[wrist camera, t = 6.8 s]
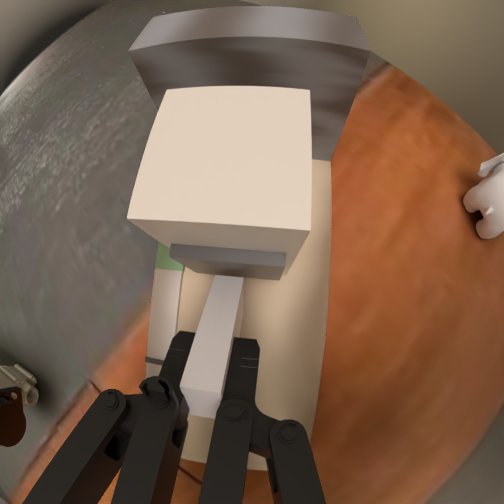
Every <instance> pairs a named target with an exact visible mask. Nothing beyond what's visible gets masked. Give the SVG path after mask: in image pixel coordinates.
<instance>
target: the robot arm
mask: <svg viewBox="0 0 504 504" xmlns="http://www.w3.org/2000/svg"><path fill="white" fill-rule="evenodd" d="M243 298H244V277H233V276H222V275H215V277H214V280H213V283H212V286H211V289H210V292H209V295H208V298H207V301H206V304H205V307H204V310H203V313H202V316H201V319H200V322H199V325H198V328H197V331H196V333H194V332H187V331H181V330H180V331H179V332H178V333H177V334H176V335H175V336H174V337H173V338H172V341H171V344H170V346H169V349H168V351H167V354H166V357H165V359H164V362H163V365H162V368H161V370H160V373H159V376H152V377H148V378H146V379H145V380H144V381H142V383H141V384H140V386H139V388H140V389H141V391H142V392H143V394H133V395H124V394H122V393H121V392H120V391H119V390H116V389H108V390H105V391H103V392H102V393H101V394H100V395H99V396H98V397H97V399H96V400H95V401H94V403H93V404H92V405H91V407H90V408H89V409H88V411H87V412H86V413H85V415H84V416H83V417H82V419H81V420H80V421H79V423H78V424H77V426H76V427H75V428H74V430H73V431H72V432H71V434H70V435H69V436H68V438H67V439H66V441H65V442H64V443H63V445H62V446H61V448H60V449H59V450H58V452H57V453H56V455H55V456H54V457H53V459H52V460H51V462H50V463H49V465H48V466H47V468H46V469H45V470H44V472H43V473H42V475H41V476H40V478H39V479H38V481H37V482H36V484H35V485H34V487H33V488H32V490H31V491H30V493H29V494H28V496H27V497H26V499H25V500H24V502H23V503H22V504H98V502H99V500H100V499H101V497H102V496H103V494H104V493H105V491H106V490H107V488H108V487H109V485H110V484H111V482H112V480H113V479H114V477H115V476H116V474H117V473H118V471H119V470H120V468H121V470H120V474H119V477H118V480H117V484H116V487H115V491H114V494H113V498H112V501H111V504H170V503H171V498H172V494H173V489H174V485H175V480H176V476H177V472H178V467H179V463H180V459H181V455H182V450H183V446H184V442H185V438H186V434H187V430H188V420H187V418H188V414H189V411H190V413H191V415H196V416H201V417H207V418H213V419H215V422H214V427H213V432H212V437H211V442H210V447H209V452H208V457H207V462H206V467H205V472H204V477H203V482H202V487H201V492H200V497H199V502H198V504H242V501H243V493H244V486H245V479H246V471H247V464H248V456H249V452H251V453H254V454H256V455H259V456H261V457H264V458H265V460H266V465H267V470H268V475H269V480H270V485H271V490H272V495H273V500H274V504H326V502H325V498H324V495H323V491H322V487H321V483H320V480H319V476H318V472H317V469H316V465H315V461H314V457H313V454H312V450H311V446H310V443H309V439H308V435H307V432H306V430H305V428H304V426H303V425H302V424H301V423H299V422H298V421H295V420H292V419H284V420H281V421H280V420H277V419H274V418H272V417H269V416H267V415H265V414H263V413H262V412H261V411H260V410H259V409H258V407H257V406H256V403H255V395H256V386H257V377H258V368H259V357H260V347H259V344H258V342H257V339H249V338H239V337H240V331H241V325H242V319H243ZM121 466H122V467H121Z"/></svg>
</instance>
